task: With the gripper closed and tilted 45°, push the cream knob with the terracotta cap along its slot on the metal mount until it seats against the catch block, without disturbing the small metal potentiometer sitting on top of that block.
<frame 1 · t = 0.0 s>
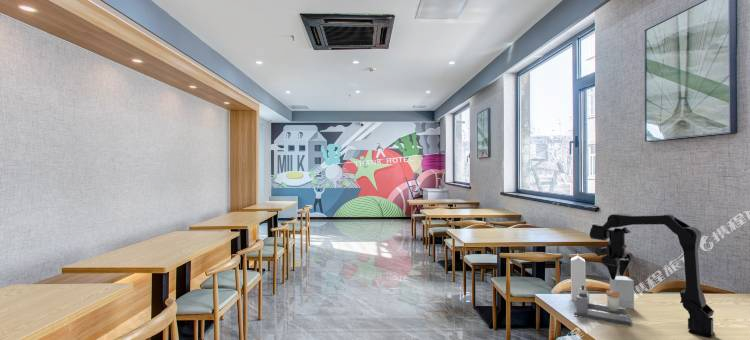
hand: (617, 277, 163), 15 cm above the table, tool pointing down, fingers open, 9 cm apart
knob: (613, 303, 155), point 6 cm above the table, slide at 0.0 cm
supplement box: (621, 305, 170), on the table
potentiometer: (582, 294, 161), point 8 cm above the table, touching mount
milk: (578, 299, 179), on the table
mount: (602, 316, 157), on the table
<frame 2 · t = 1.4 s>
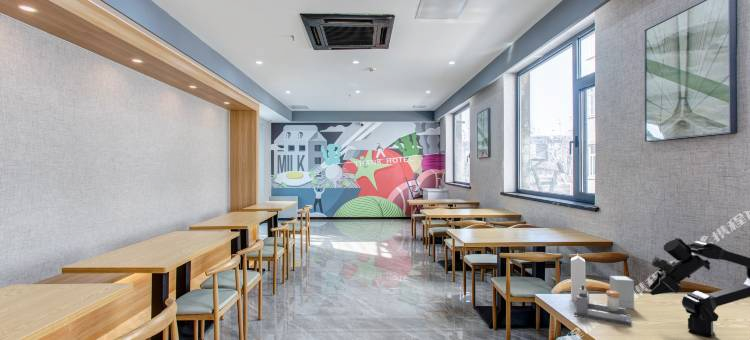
hand: (650, 291, 148), 14 cm above the table, tool tilted 45°, fingers open, 7 cm apart
nothing on the table moved.
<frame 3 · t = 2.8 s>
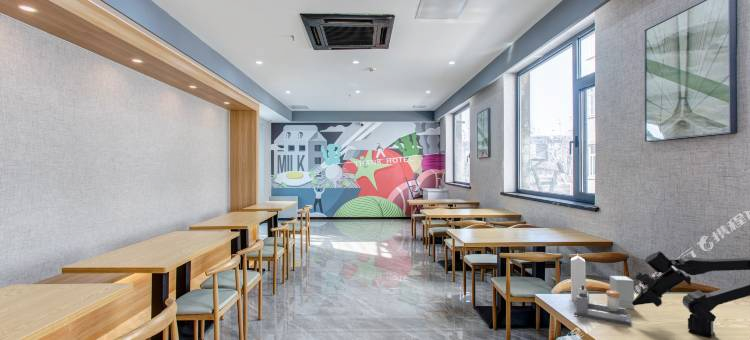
hand: (632, 304, 151), 7 cm above the table, tool tilted 45°, fingers closed
nothing on the table moved.
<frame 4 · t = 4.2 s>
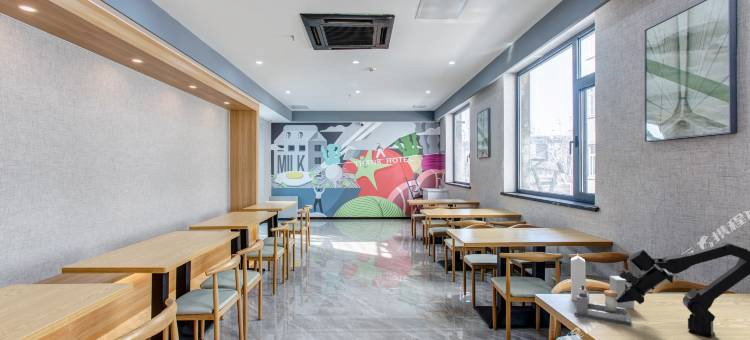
hand: (617, 301, 154), 7 cm above the table, tool tilted 45°, fingers closed, pressing on knob
knob: (610, 302, 155), point 6 cm above the table, slide at 0.8 cm, touching gripper
everything else where it was.
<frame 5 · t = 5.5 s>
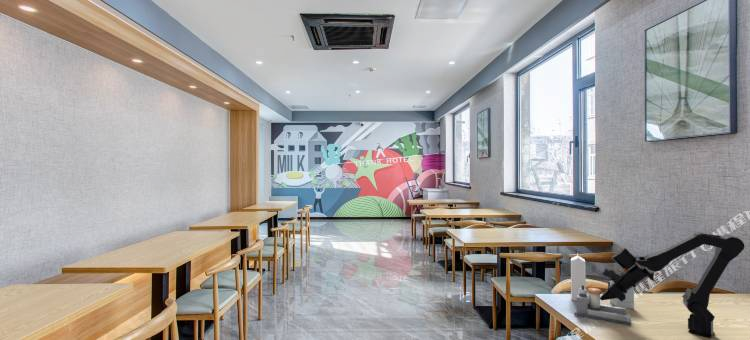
hand: (600, 299, 157), 7 cm above the table, tool tilted 45°, fingers closed, pressing on knob
knob: (594, 300, 158), point 6 cm above the table, slide at 6.6 cm, touching gripper
everything else where it was.
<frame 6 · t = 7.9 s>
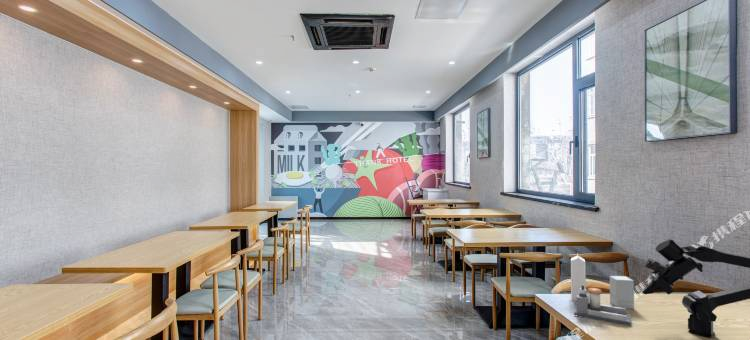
hand: (643, 293, 149), 12 cm above the table, tool tilted 45°, fingers closed
knob: (594, 300, 158), point 6 cm above the table, slide at 6.5 cm
everything else where it was.
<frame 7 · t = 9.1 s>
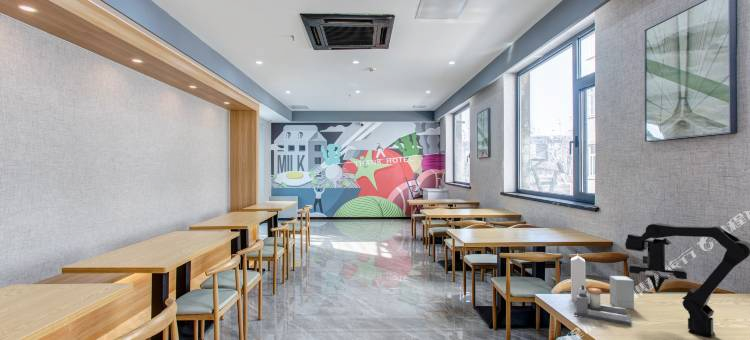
hand: (656, 292, 152), 12 cm above the table, tool pointing down, fingers closed
nothing on the table moved.
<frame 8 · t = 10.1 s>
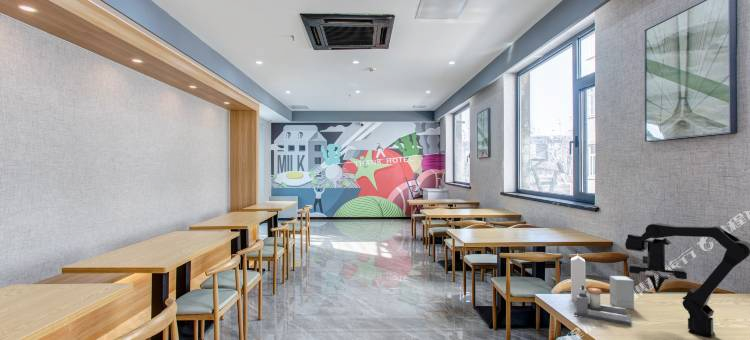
hand: (656, 292, 152), 12 cm above the table, tool pointing down, fingers closed
nothing on the table moved.
at the end: knob slide at 6.5 cm; potentiometer moved 0.0 cm from its start; potentiometer tilted 0° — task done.
